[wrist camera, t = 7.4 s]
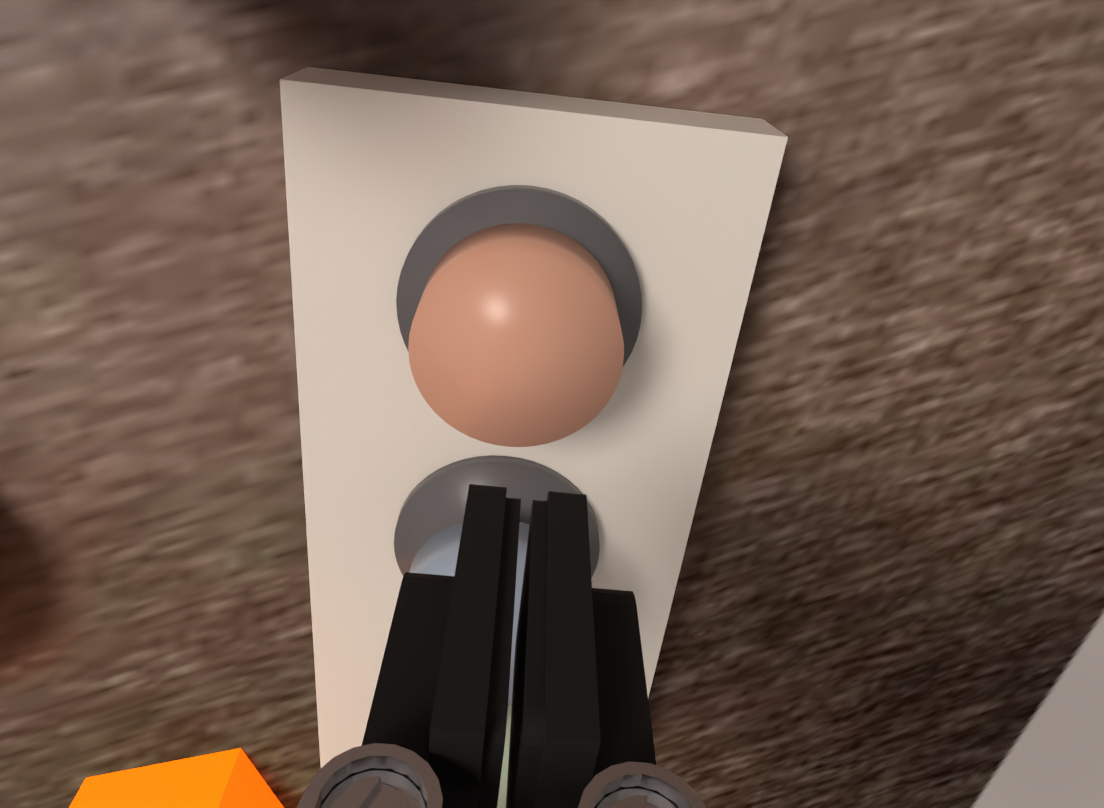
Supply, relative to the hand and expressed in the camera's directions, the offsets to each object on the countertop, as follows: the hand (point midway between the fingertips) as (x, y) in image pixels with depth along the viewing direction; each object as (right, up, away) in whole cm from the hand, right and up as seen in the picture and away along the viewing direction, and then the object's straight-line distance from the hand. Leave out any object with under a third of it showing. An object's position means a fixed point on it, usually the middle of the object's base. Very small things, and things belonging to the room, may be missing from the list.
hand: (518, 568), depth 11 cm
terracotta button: (0, +5, +9) cm, 10 cm away
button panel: (-1, -1, +15) cm, 16 cm away
